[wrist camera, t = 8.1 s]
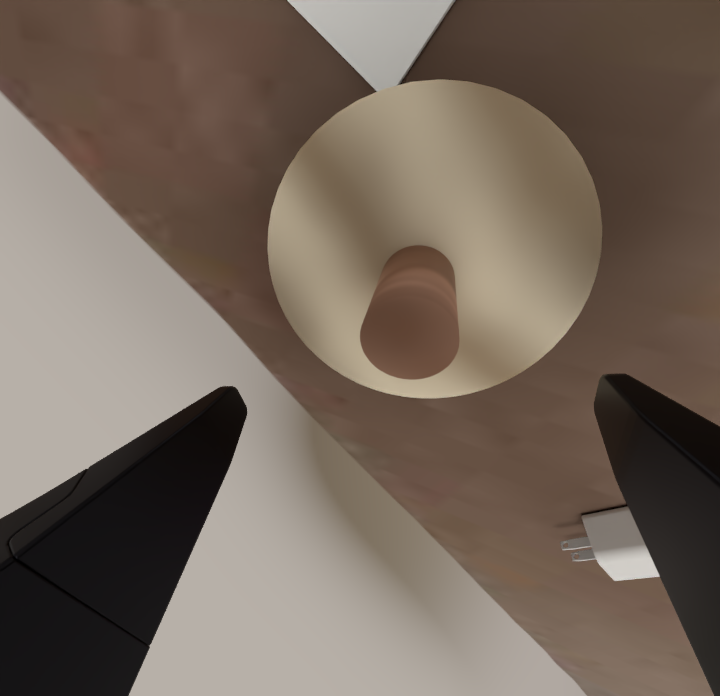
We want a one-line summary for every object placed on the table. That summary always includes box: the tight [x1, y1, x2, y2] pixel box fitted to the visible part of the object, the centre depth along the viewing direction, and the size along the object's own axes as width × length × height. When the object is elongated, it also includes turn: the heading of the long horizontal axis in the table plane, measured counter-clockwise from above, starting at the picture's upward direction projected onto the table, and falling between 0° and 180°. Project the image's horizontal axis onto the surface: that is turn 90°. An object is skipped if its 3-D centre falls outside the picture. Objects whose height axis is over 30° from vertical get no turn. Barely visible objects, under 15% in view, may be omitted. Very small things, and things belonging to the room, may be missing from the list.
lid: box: [268, 79, 602, 398], centre depth 12 cm, size 13×13×6 cm
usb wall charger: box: [560, 506, 660, 581], centre depth 28 cm, size 4×7×4 cm, turn 133°
